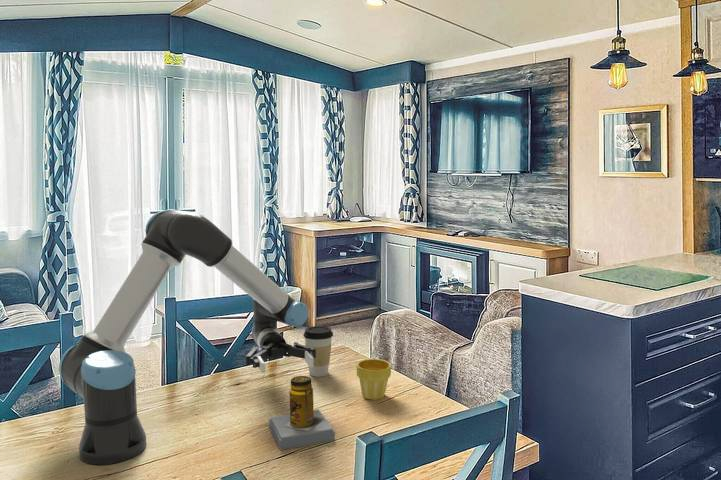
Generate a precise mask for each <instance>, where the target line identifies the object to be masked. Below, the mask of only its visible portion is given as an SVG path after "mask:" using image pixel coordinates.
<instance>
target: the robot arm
mask: <svg viewBox="0 0 721 480" xmlns="http://www.w3.org/2000/svg"><path fill="white" fill-rule="evenodd" d="M144 229H145V231H144V233H145V237H144V239H143V240H142V242H141V244H140V246H141V249H142V253H141V255H140V256H139V258H138V260H137V261H136V262H135V264H134V266H133V267H132V269H131V270H130V272H129V274H128V275H127V277H126V278H125V280H124V282H123V283H122V285H121V287H120V288H119V290H118V291H117V293H116V294H115V296H114V298H113V299H112V301H111V303H110V304H109V306H108V307H107V309H106V310H105V312H104V313H103V315H102V316H101V318H100V320H99V321H98V323H97V325H96V326H95V328H94V329H93V330H92V331H89V332H86V333H84V334H83V335H82V337H81V339H80V340H79V342H78V343H77V344H75V345H72V346H70V347H69V348H68V349H67V350H65V352H64V353H63V355H62V356H61V358H60V360H59V365H58V373H59V376H60V379H61V380H62V382H63V383H64V385H65V386H66V387H67V388H68V389H69V390H70V391H72V392H74V393H75V394H76V395H78V396H79V397H81V398H82V399H83V408H84V427H83V430H82V434H81V438H80V441H79V445H78V455H79V456H80V457H79V459H80V458H81V459H80V460H81V461H82V460H83V461H84V462H83V461H82V462H83V463H86V462H87V463H86V464H89V463H90V465H95V464H105V465H111V463H113V464H117V462H118V463H120V462H125V461H127V460H130V459H132V458H135V457H136V456H138V455H139V454H140V453H143V451H144V450H145V448H146V447H147V434H146V432H145V429H144V427H143V424H142V422H141V421H140V418H139V416H138V409H137V405H138V404H137V402H138V401H137V386H136V372H137V371H136V367H135V361H134V358H133V357H132V355H130V354H129V353H127V352H126V349H125V345H126V343H127V341H128V340H129V338H130V337H131V335H132V333H133V332H134V330H135V328H136V327H137V325H138V323H139V322H140V321H141V318H142V317H143V315H144V314H145V311H146V310H147V308H148V307H149V305H150V304H151V302H152V300H153V298H154V297H155V296H156V294H157V292H158V290H159V289H160V287H161V285H162V284H163V282H164V280H165V279H166V277H167V276H168V273H169V272H170V270H171V269H172V268H174V267H178V266H180V265H181V263H182V261H183V260H184V258H185V257H186V256H189V257H192V258H193V259H197V260H198V261H200V262H201V263H203V264H204V265H205V266H206V267H208V268H212V267H213V268H215V269H216V270H218V271H219V272H220V273H221V274H222V275H224V276H225V277H226V278H228V280H230V281H231V282H232V283H233V284H235V285H236V286H237V287H239V288H240V290H242V291H243V292H245V293H246V294H247V295H248V296H249V297H251V298H252V306H253V310H252V311H253V325H252V328H251V337H252V339H253V341H254V342H255V343H256V346H255V345H253V346H252V349H251V350H250V351H249V352H248V354H246V356H245V366H250V365H252V368H253V369H256V368H258V369H259V371H260V372H261V374H265V372H266V371H265V370H266V368H265V367H266V366H265V362H264V361H265V360H274V359H275V360H276V359H278V358H280V357H285V358H291V357H294V358H300V359H304V361H305V362H306V364H307V365H309V366H310V367H311V368H312V367H314V358H316V349H314V348H311V347H308V346H305V344H304V345H303V344H301V343H299V342H297V341H295V342H293V344H288V343H287V341H286V339H285V338H284V337H283V336H282V334H281V333H280V332H279V331H278V322H279V323H282V324H284V325H287V326H289V327H301V326H302V325H304V324H305V323H306V321H307V319H308V317H309V309H308V307H307V304H305V303H303V302H301V301H300V300H296V299H294V298H293V297H292V296H290V294H288V293H287V292H285V291H284V290H283V289H282V288H281V287H280V286H279V285H278V284H277V283H276V282H274V281H273V280H272V279H271V278H270V277H269V276H268V275H266V273H264V272H263V271H262V270H261V269H260V268H258V267H257V266H256V265H255V264H254V263H253V262H251V260H249V259H248V258H247V257H246V256H245V255H244V254H243V253H241V252H240V251H239V250H238V249H237V248H236V247H235V246H233V240H232V239H231V238H230V237H229V236H228V235H227V234H226V233H224V231H222V230H221V229H220V228H219V227H218V226H217V225H215V223H213V222H212V221H210V219H208V218H206V216H203V214H200V213H199V212H193V211H185V210H184V211H183V210H179V209H172V208H171V209H163V210H161V211H157V212H156V213H154V214H153V215H152V216H151V217H150V218H149V220H148V221H147V223H146V224H145V228H144ZM309 366H308V367H309Z"/></svg>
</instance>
